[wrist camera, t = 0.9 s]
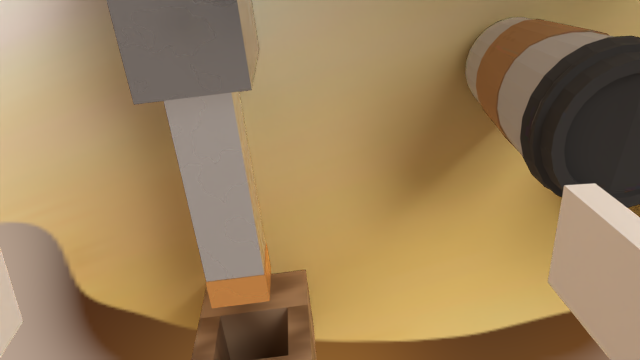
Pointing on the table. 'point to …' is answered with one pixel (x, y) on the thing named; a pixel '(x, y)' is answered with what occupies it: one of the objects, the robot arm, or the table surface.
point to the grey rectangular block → (185, 47)
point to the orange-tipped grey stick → (221, 196)
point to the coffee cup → (563, 101)
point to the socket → (260, 325)
